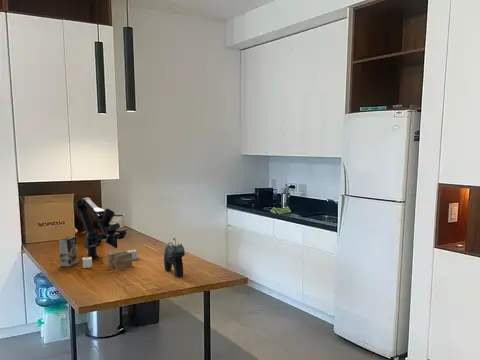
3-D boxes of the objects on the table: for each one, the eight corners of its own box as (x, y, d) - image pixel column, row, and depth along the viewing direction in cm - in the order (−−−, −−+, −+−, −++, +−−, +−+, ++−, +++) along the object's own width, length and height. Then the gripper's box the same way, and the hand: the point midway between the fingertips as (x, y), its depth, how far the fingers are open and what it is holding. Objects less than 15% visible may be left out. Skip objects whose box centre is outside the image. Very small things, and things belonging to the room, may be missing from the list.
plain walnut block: (108, 266, 261) (107, 253, 261) (123, 262, 269) (122, 250, 268) (117, 269, 254) (116, 256, 254) (132, 265, 262) (131, 252, 261)
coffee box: (69, 266, 261) (68, 239, 260) (60, 266, 263) (58, 239, 261) (78, 262, 270) (77, 236, 269) (68, 262, 272) (67, 236, 270)
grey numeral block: (127, 258, 278) (127, 250, 278) (135, 257, 280) (135, 249, 280) (128, 260, 274) (128, 251, 273) (136, 259, 276) (136, 251, 275)
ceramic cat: (186, 277, 235) (185, 240, 234) (175, 279, 232) (174, 241, 230) (171, 268, 252) (170, 234, 251) (160, 270, 249) (159, 235, 247)
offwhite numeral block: (82, 266, 262) (82, 257, 262) (91, 265, 264) (91, 256, 264) (83, 268, 258) (82, 259, 257) (92, 267, 259) (91, 258, 259)
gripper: (96, 221, 259) (106, 242, 252) (124, 217, 272) (135, 236, 265) (90, 232, 265) (100, 253, 258) (118, 228, 278) (128, 248, 271)
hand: (116, 247), depth 263 cm, fingers closed
